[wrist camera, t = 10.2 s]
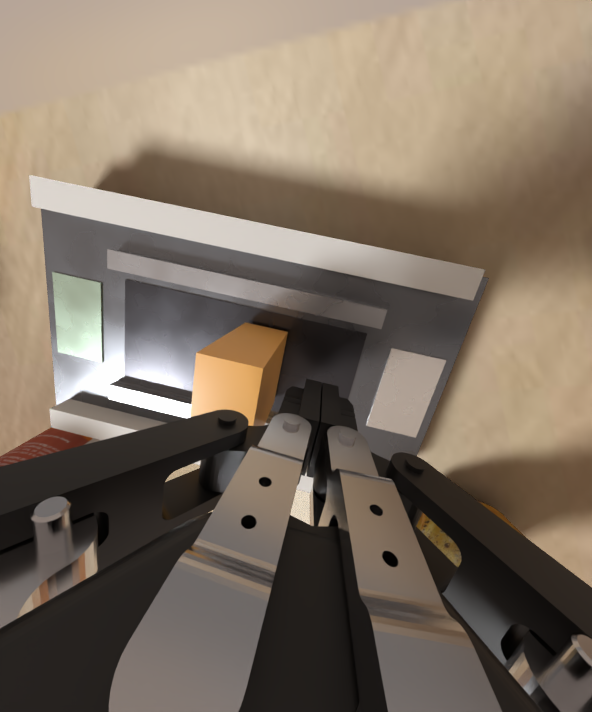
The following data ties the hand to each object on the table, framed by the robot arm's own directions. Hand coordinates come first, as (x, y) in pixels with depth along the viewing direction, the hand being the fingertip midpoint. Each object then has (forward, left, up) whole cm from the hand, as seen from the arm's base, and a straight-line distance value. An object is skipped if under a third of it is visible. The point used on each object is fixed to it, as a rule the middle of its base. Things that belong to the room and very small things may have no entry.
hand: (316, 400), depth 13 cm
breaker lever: (+3, 0, -3) cm, 5 cm away
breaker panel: (+5, 0, -7) cm, 8 cm away
